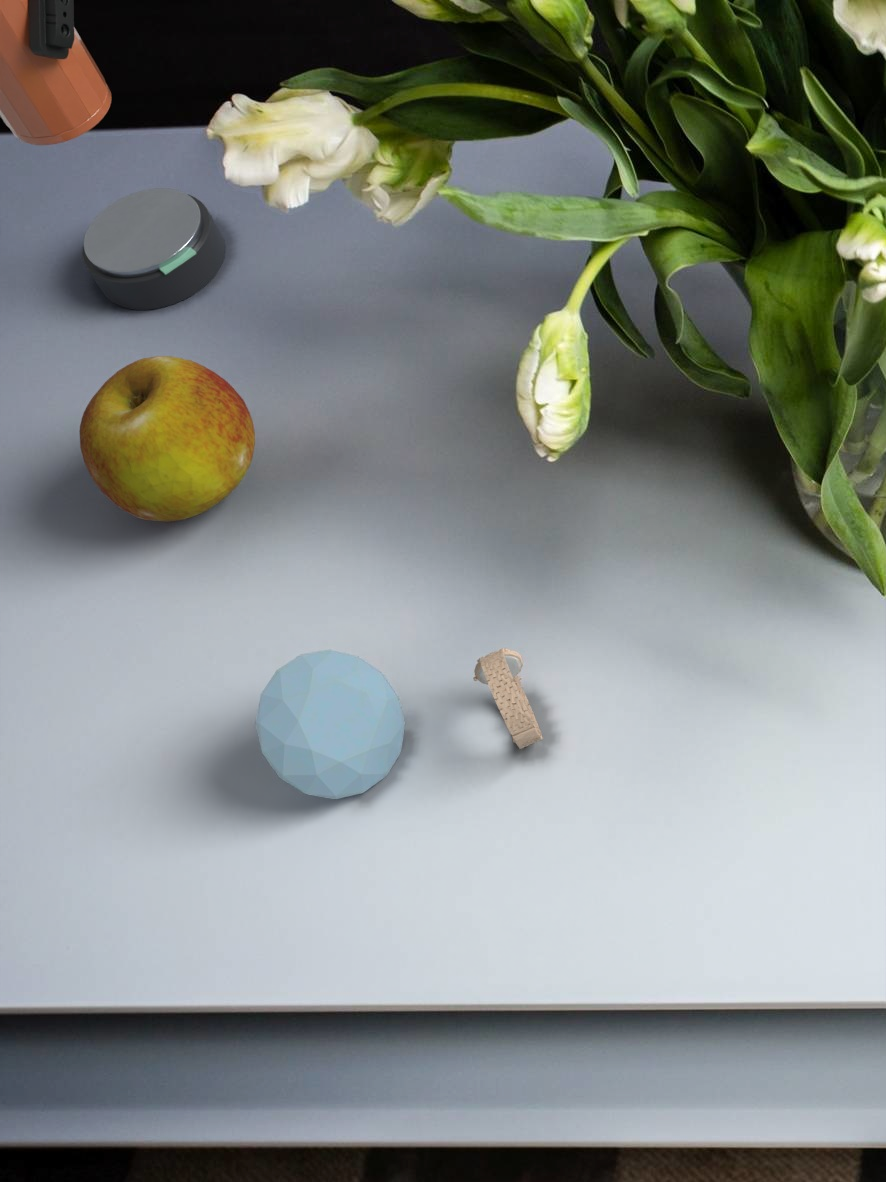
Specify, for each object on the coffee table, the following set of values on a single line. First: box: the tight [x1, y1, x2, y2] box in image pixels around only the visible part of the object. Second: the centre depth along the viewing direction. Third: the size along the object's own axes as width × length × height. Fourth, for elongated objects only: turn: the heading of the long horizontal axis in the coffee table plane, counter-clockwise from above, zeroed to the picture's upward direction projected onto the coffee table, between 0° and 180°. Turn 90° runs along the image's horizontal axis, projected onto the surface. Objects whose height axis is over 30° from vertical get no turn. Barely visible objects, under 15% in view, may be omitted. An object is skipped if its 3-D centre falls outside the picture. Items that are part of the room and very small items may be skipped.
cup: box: [0, 0, 113, 146], centre depth 91 cm, size 6×6×9 cm
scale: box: [81, 187, 227, 311], centre depth 105 cm, size 8×8×3 cm
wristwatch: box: [472, 647, 544, 750], centre depth 82 cm, size 3×5×5 cm, turn 24°
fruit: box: [79, 355, 256, 523], centre depth 93 cm, size 10×9×8 cm
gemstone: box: [255, 649, 406, 800], centre depth 84 cm, size 8×8×5 cm
